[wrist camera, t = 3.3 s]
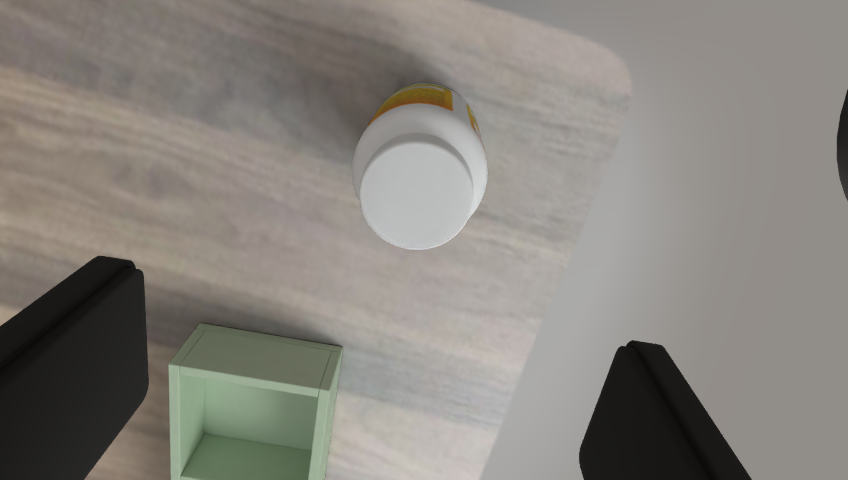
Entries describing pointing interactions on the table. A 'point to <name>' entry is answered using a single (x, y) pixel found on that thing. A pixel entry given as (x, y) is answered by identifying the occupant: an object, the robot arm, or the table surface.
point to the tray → (251, 406)
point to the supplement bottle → (420, 167)
